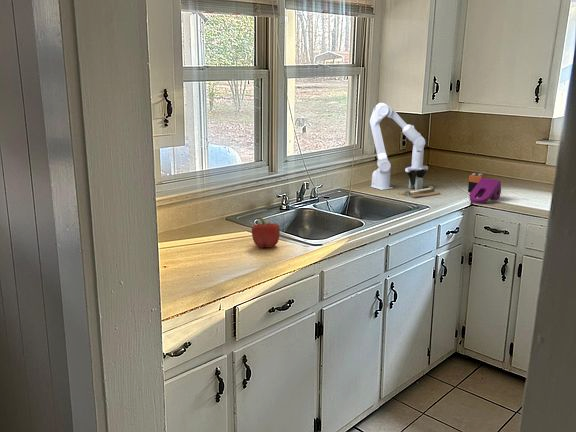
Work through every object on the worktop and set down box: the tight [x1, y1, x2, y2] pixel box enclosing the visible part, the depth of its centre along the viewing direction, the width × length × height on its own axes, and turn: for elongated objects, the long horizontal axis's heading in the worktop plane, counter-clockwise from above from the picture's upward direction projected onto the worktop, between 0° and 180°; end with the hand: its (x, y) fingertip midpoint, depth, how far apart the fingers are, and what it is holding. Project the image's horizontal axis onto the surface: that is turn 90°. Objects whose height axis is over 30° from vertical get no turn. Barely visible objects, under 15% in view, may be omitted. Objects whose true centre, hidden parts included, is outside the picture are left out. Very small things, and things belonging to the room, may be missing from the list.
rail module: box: [408, 176, 424, 190], centre depth 308 cm, size 6×4×6 cm, turn 33°
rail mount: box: [398, 186, 441, 199], centre depth 296 cm, size 11×18×3 cm, turn 123°
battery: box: [467, 172, 486, 194], centre depth 300 cm, size 4×7×10 cm, turn 49°
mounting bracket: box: [468, 177, 502, 205], centre depth 286 cm, size 9×8×18 cm
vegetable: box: [251, 216, 280, 249], centre depth 212 cm, size 11×10×10 cm
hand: (415, 184), depth 308 cm, fingers closed on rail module, 4 cm apart
